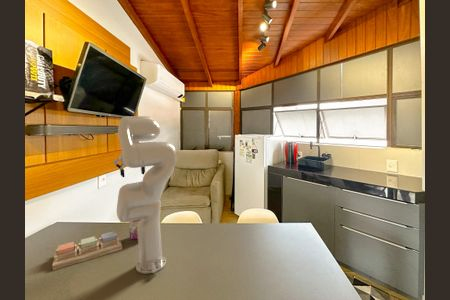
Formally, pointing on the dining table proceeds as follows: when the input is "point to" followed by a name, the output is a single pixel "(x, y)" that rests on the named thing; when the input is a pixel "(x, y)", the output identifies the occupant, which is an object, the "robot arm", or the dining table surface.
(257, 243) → the dining table surface
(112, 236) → the slate button
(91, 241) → the sage button
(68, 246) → the terracotta button
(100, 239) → the button panel
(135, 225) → the candy bar box
